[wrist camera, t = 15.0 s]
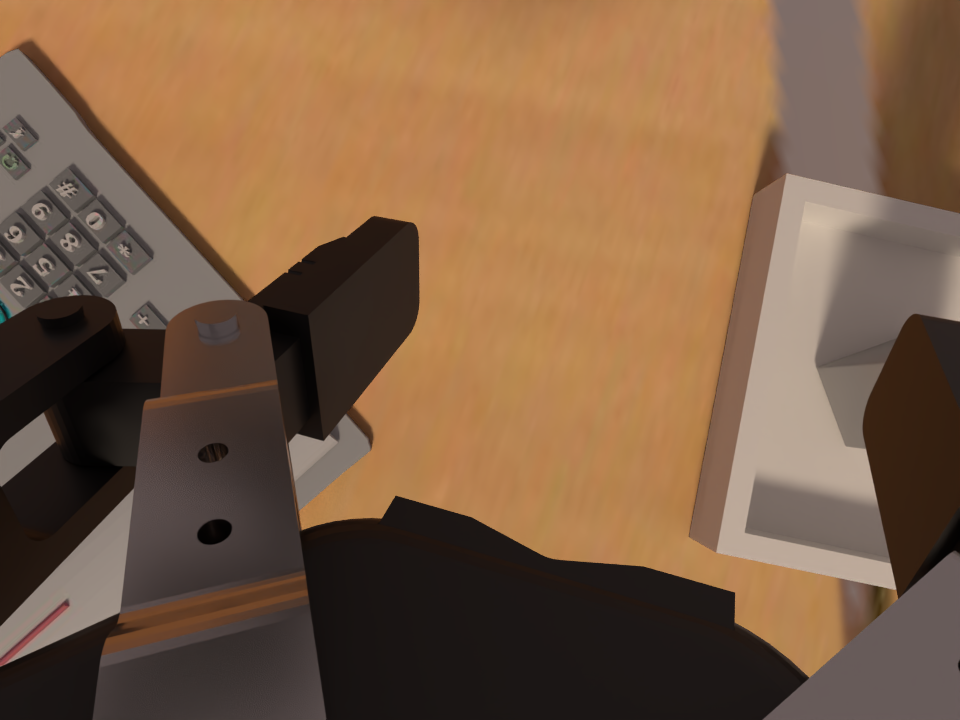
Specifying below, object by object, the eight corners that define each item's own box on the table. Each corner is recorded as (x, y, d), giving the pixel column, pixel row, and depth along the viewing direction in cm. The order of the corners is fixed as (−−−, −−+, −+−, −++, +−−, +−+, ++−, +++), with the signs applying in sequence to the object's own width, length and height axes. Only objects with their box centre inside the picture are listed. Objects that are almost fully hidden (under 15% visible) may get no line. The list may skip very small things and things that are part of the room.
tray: (689, 537, 30) (716, 552, 27) (753, 194, 31) (786, 173, 28) (983, 598, 30) (1042, 620, 27) (1037, 260, 32) (1099, 246, 29)
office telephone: (375, 446, 28) (-9, 795, 26) (380, 441, 30) (32, 758, 29) (-7, 27, 27) (-416, 354, 26) (32, 59, 30) (-338, 357, 28)
